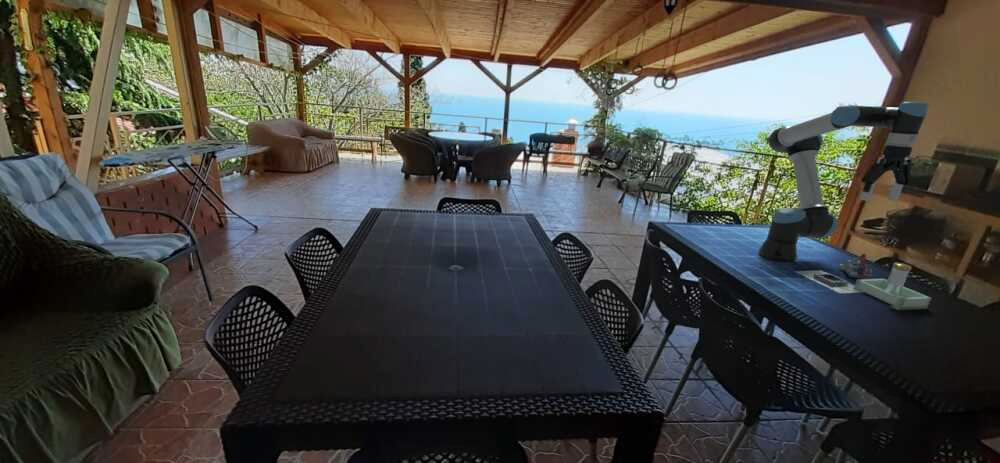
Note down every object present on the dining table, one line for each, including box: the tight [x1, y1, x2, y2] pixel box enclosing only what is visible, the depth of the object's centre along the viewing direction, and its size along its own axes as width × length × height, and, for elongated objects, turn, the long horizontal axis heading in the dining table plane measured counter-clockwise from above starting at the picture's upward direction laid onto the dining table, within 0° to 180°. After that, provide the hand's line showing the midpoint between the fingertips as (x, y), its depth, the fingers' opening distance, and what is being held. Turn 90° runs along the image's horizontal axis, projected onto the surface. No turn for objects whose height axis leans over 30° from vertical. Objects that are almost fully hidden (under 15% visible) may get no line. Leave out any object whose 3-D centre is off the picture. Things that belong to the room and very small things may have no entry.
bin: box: [854, 278, 932, 311], centre depth 148 cm, size 16×13×4 cm
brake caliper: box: [838, 252, 873, 280], centre depth 166 cm, size 11×11×12 cm
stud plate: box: [794, 270, 864, 294], centre depth 159 cm, size 20×14×2 cm
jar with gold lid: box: [884, 262, 913, 296], centre depth 146 cm, size 5×5×13 cm
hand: (878, 200), depth 152 cm, fingers open, 13 cm apart
